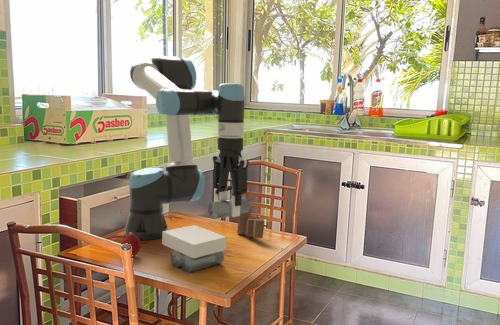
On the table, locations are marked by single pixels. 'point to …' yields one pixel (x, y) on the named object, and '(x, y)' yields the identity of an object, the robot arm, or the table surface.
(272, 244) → the table surface
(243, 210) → the roller
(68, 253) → the table surface
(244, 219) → the wooden block set
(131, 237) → the onion
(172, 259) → the cylinder
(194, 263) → the roller front
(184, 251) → the slab
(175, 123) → the robot arm
